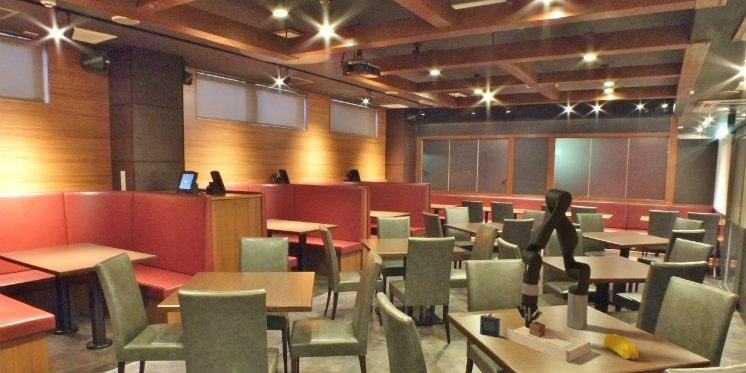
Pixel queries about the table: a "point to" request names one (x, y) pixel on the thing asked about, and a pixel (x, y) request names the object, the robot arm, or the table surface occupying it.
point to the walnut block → (537, 329)
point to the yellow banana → (621, 346)
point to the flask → (489, 325)
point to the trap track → (550, 343)
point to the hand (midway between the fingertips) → (528, 327)
